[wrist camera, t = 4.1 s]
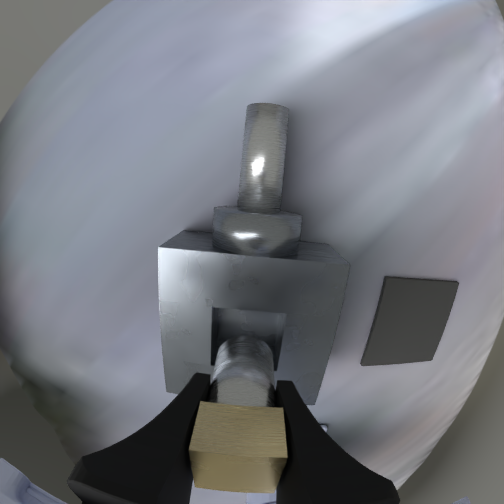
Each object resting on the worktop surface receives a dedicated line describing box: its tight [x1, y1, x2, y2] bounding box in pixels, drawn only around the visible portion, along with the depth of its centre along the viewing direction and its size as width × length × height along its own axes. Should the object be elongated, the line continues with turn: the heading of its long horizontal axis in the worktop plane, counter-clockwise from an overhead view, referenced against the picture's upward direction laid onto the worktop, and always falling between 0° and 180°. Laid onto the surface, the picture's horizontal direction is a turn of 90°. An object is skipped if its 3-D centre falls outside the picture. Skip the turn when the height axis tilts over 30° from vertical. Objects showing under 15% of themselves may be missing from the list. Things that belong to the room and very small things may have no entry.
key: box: [189, 335, 288, 493], centre depth 10 cm, size 3×3×7 cm
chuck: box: [158, 103, 350, 405], centre depth 16 cm, size 18×10×5 cm, turn 175°
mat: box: [360, 277, 459, 366], centre depth 20 cm, size 8×8×1 cm
